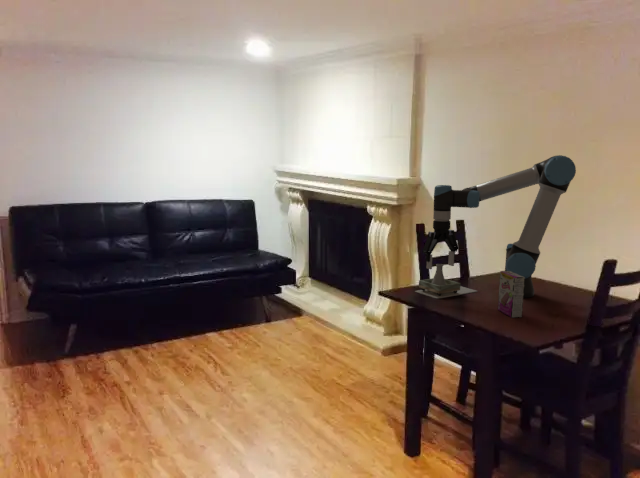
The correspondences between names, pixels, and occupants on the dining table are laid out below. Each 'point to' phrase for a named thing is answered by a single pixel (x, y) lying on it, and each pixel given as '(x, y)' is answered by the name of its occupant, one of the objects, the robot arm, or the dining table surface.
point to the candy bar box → (511, 294)
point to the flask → (439, 276)
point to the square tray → (438, 289)
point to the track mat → (447, 294)
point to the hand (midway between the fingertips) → (440, 267)
